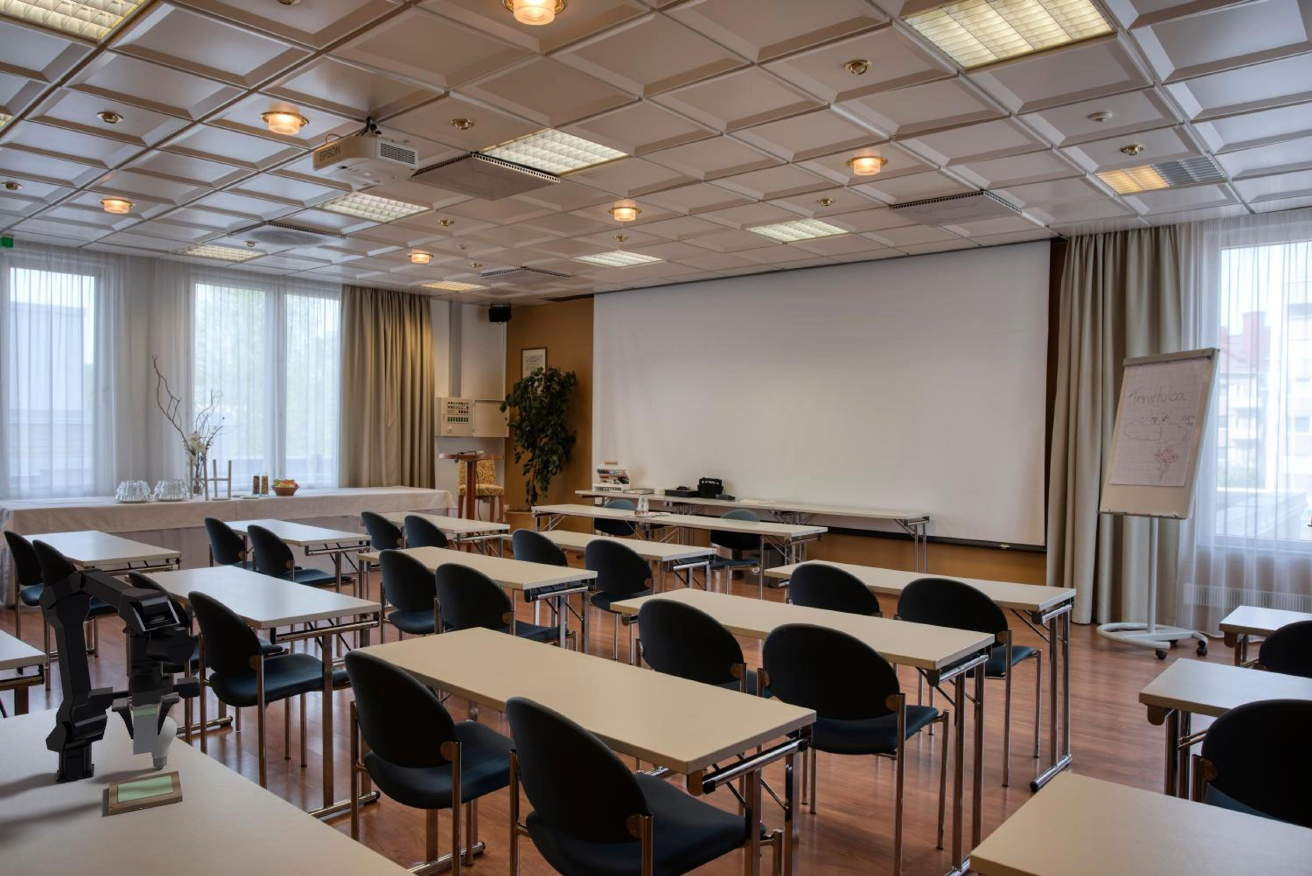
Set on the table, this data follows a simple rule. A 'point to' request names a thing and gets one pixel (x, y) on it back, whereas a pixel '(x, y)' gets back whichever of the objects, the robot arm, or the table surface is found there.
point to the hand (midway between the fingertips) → (145, 736)
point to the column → (145, 729)
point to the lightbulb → (164, 743)
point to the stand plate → (144, 792)
